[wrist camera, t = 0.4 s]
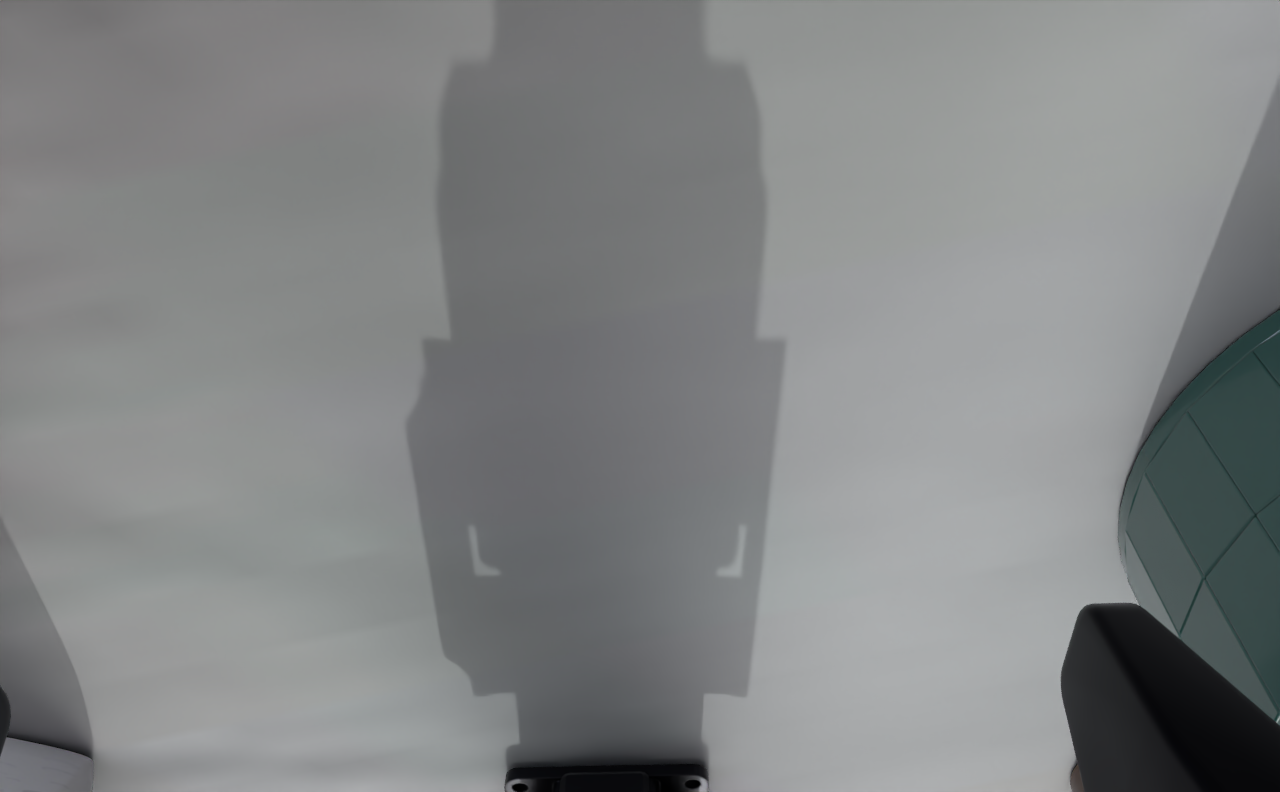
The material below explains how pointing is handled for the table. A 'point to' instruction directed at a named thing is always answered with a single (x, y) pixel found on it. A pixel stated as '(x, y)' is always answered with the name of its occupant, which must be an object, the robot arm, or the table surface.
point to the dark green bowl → (1215, 517)
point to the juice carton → (43, 768)
